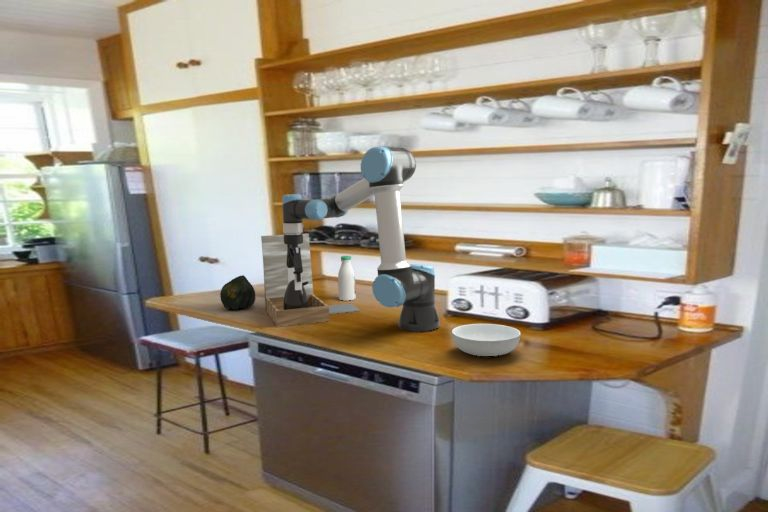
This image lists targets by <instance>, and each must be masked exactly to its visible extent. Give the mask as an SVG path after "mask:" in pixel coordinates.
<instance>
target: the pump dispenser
mask: <svg viewBox="0 0 768 512" xmlns="http://www.w3.org/2000/svg"><path fill="white" fill-rule="evenodd" d="M307 284H308V281H306V282H303V283H302V290H295V279H294V280H292V281H290V282H289V284H288V286H287V288H286V291H285V295H284V302H283V309H284V310H289V309H299V308H309V302H308V297H307V293H306V291H305V288H304V286H305V285H307Z"/></svg>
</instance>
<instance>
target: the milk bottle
mask: <svg viewBox="0 0 768 512" xmlns="http://www.w3.org/2000/svg"><path fill="white" fill-rule="evenodd" d="M351 261H352V256H351V255H342V256H340V262H341V265H340V267H339V269H338V275H337V276H338V277H337V278H338V279H337V281H338V282H337V284H338V285H337V287H338V288H337V289H338V300H339V301H341V300H343V301H344V302H350V301H349V300H351V301H355V300H356V298H357V297H356V295H357V294H356V273H355V270H354V268H353V265H352V262H351ZM354 299H355V300H354Z"/></svg>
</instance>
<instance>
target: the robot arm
mask: <svg viewBox="0 0 768 512" xmlns="http://www.w3.org/2000/svg"><path fill="white" fill-rule="evenodd" d="M416 168H417V161H416V158H415V156H414V154H413V153H412V152H411V151H410V150H408V149H407V148H404V147H394V146H383V145H382V146H374V147H372V148H369V149H368V150H367V151H366V152H365V153H364V155H363V156H362V159H361V163H360V173H361V176H362V177H363V178H362V179H360V180H358V181H357V182H355V183H354V184H352V185H350V186H348V187H347V188H345V189H343V190H342V191H340V192H339V193H337V194H336V195H334V196H332V197H331V198H322V199H321V198H320V199H303V196H302V194H297V193H294V194H293V193H291V194H290V193H289V194H283V196H282V201H281V204H282V205H281V206H282V227H283V228H282V230H283V231H282V232H283V235H284V244H287V263H286V265H287V267H288V284H289V282H290V281H292V280H294V279H295V290H302V272H303V268H302V260H301V252H300V250H301V249H300V247H299V248H298V244H302V243H303V235H302V234H303V228H304V227H305V225H304V224H303V220H311V221H322V220H324V219H329V218H330V219H331V218H332V219H333V218H341V217H344V216H346V215H347V214H348V212H349V211H350V210H351V209H353V208H355V207H356V206H358V205H360V204H361V203H364V202H366V201H367V200H369V199H371V198H372V197H374V203H375V211H376V212H375V215H376V222H377V225H376V226H377V233H378V234H377V235H378V245H379V255H380V264H379V265H378V267H377V269H376V270H377V276H376V277H375V278H374V280H373V282H372V287H371V289H372V293H373V296H374V298H375V300H376V301H377V302H379V304H380V305H382V306H383V307H385V308H398V307H401V306H402V308H401V310H400V311H401V312H400V314H399V318H398V320H397V321H398V322H397V323H398V328H399V329H400V330H404V331H407V332H414V333H415V332H416V333H418V332H421V331H423V332H430V331H429V330H432V331H434V330H433V329H435V330H437V329H436V328H438V327H439V326H440V327H441V323H440V322H441V321H440V318H439V315H438V311H437V307H436V304H435V302H436V300H435V298H436V297H435V296H436V295H435V294H436V292H435V286H436V285H435V281H436V280H435V277H436V274H435V268H434V267H433V265H429V264H418V263H417V264H416V263H415V264H413V263H409V262H408V261H407V256H406V255H407V254H406V247H405V246H406V244H405V236H404V235H405V234H404V233H405V232H404V224H403V214H402V204H401V202H402V201H401V192H400V191H401V189H402V188H403V187H404V182H406V181H408V180H410V179H411V178H412V176H413V175H414V174H415V172H416ZM293 267H294V268H293ZM440 327H439V328H440ZM439 328H438V329H439ZM421 333H422V332H421Z"/></svg>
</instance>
